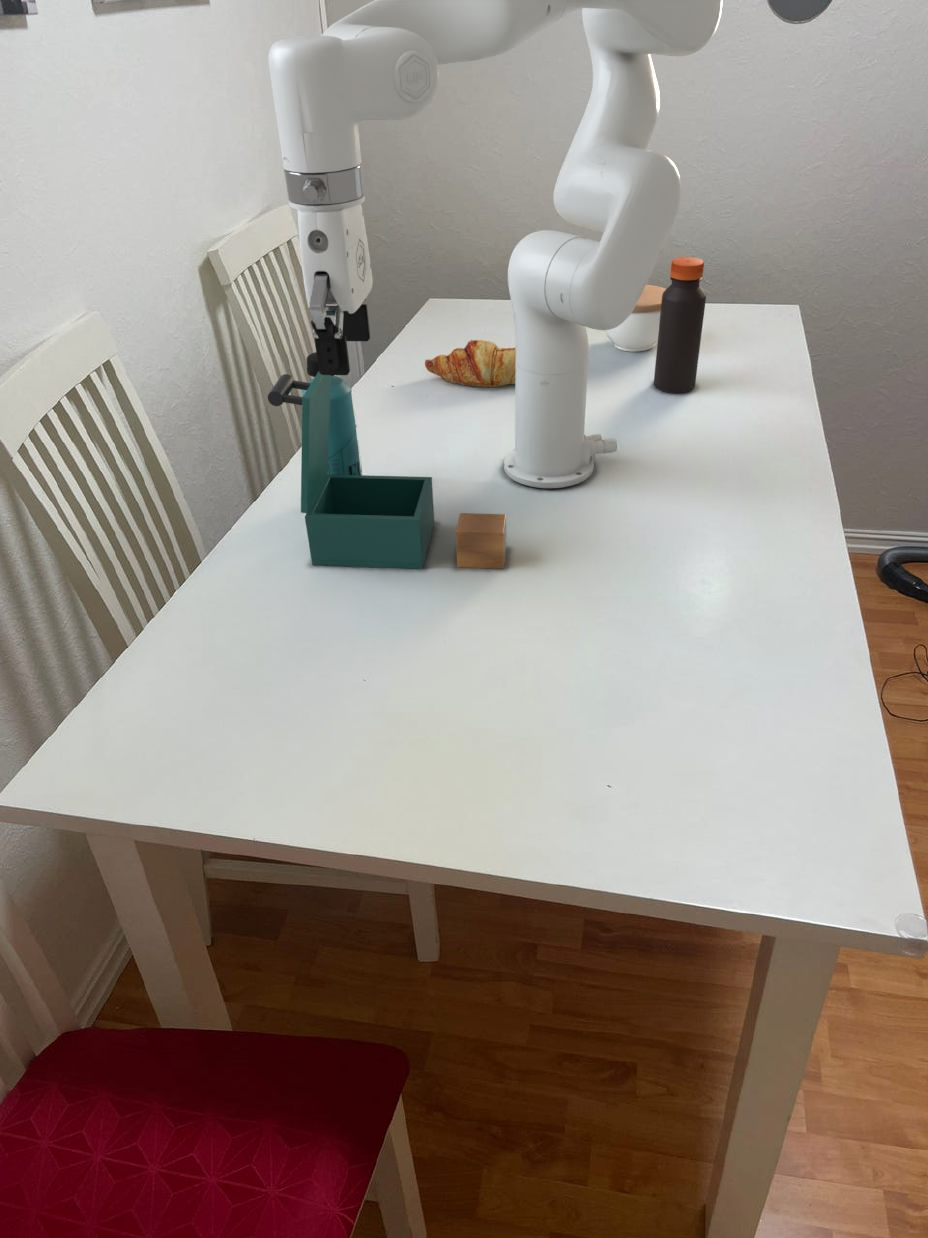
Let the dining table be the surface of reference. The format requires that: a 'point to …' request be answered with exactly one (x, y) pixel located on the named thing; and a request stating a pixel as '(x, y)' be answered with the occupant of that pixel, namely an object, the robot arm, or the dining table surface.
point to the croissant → (476, 365)
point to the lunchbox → (371, 521)
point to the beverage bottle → (339, 425)
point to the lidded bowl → (640, 323)
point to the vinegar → (680, 327)
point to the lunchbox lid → (309, 429)
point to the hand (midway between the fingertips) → (346, 356)
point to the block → (481, 540)
